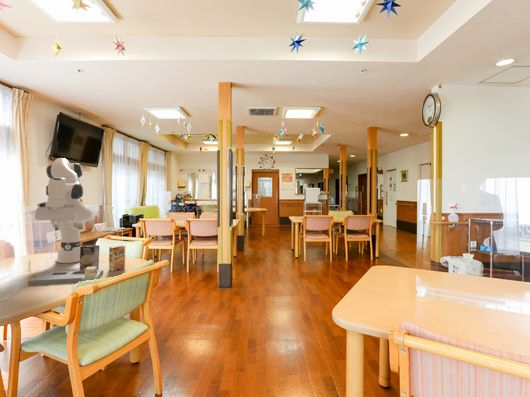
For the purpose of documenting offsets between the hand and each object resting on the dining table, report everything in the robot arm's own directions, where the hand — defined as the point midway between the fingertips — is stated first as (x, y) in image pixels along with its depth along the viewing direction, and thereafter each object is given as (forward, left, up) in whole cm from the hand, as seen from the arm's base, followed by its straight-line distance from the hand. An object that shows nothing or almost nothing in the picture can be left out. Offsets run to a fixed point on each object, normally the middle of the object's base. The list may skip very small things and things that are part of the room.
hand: (56, 227), depth 163 cm
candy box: (-10, +31, -29) cm, 44 cm away
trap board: (+7, +9, -29) cm, 31 cm away
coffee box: (-10, +15, -29) cm, 34 cm away
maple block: (+11, +21, -27) cm, 36 cm away
